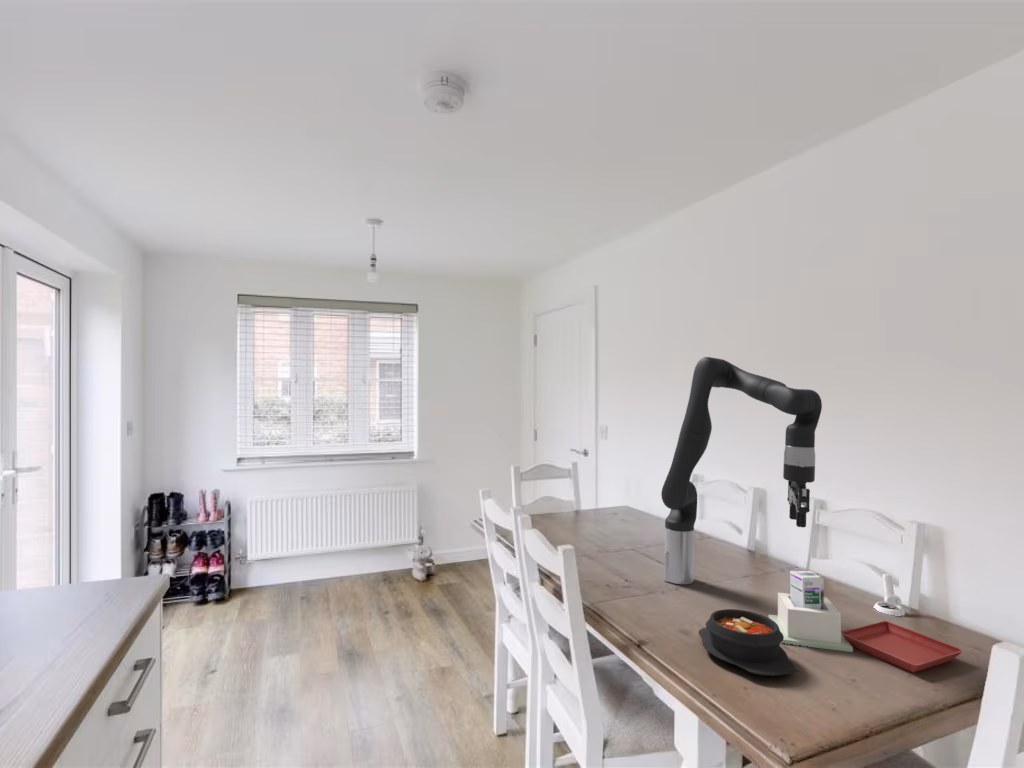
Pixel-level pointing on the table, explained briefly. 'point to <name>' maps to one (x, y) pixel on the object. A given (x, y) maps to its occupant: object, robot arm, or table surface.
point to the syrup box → (807, 589)
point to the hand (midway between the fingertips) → (797, 522)
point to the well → (810, 625)
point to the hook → (889, 598)
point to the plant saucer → (900, 646)
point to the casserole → (746, 642)
